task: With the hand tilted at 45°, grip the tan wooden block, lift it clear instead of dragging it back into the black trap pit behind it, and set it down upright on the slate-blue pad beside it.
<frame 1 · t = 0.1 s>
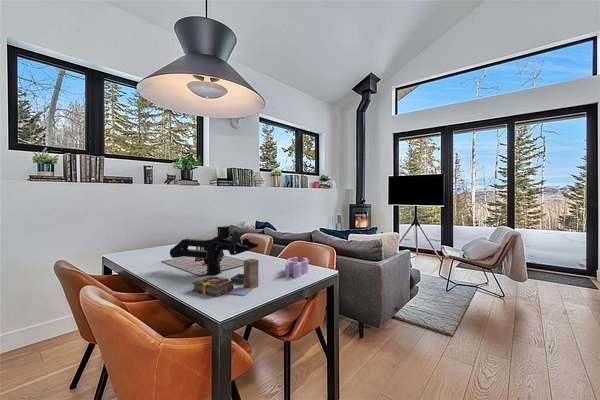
hand: (254, 247, 146), 17 cm above the table, tool horizontal, fingers open, 9 cm apart
tan wooden block: (251, 286, 131), on the table
decorative book: (214, 291, 126), on the table
clip: (296, 273, 156), on the table
trap pit: (241, 281, 140), on the table
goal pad: (240, 291, 124), on the table
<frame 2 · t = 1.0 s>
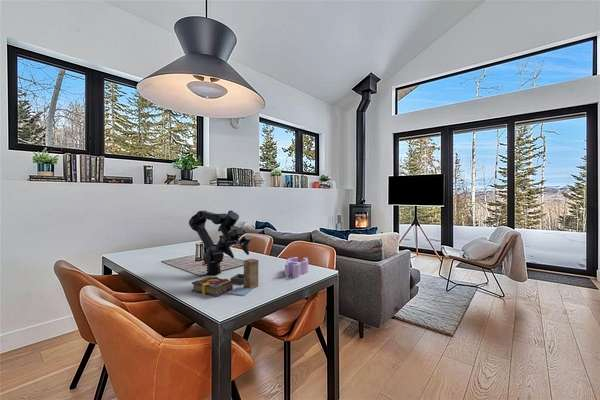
hand: (241, 256, 137), 14 cm above the table, tool tilted 45°, fingers open, 9 cm apart
nothing on the table moved.
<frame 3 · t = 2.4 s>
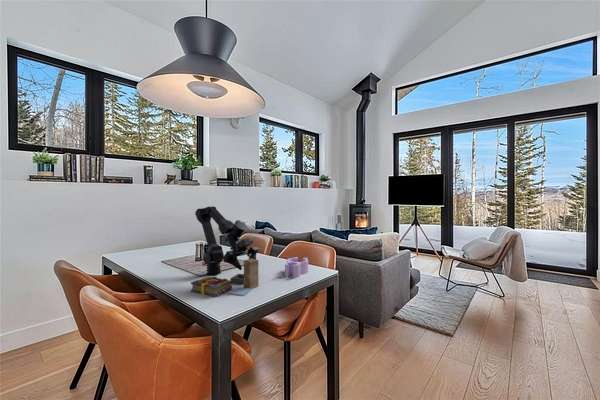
hand: (249, 267, 132), 9 cm above the table, tool tilted 45°, fingers open, 9 cm apart
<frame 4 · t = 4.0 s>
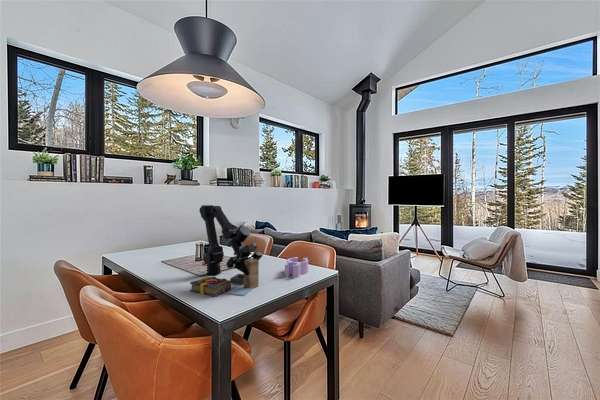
hand: (252, 273, 130), 7 cm above the table, tool tilted 45°, fingers closed on tan wooden block, 5 cm apart
tan wooden block: (251, 286, 131), on the table, touching gripper
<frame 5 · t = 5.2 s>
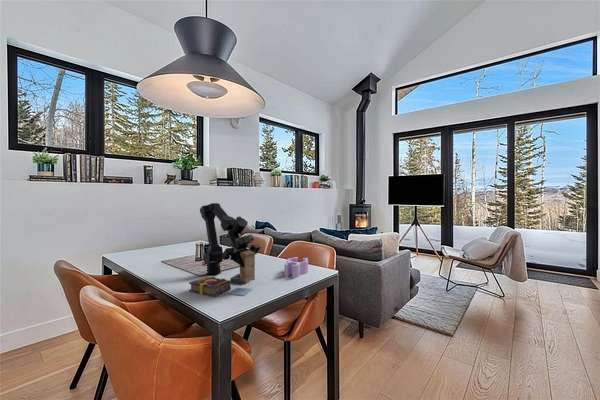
hand: (248, 266, 127), 11 cm above the table, tool tilted 45°, fingers closed on tan wooden block, 5 cm apart
tan wooden block: (247, 279, 128), point 4 cm above the table, touching gripper
when the fingers open (8 cm above the table, at t = 6.6 s): tan wooden block stays where it is, resting on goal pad.
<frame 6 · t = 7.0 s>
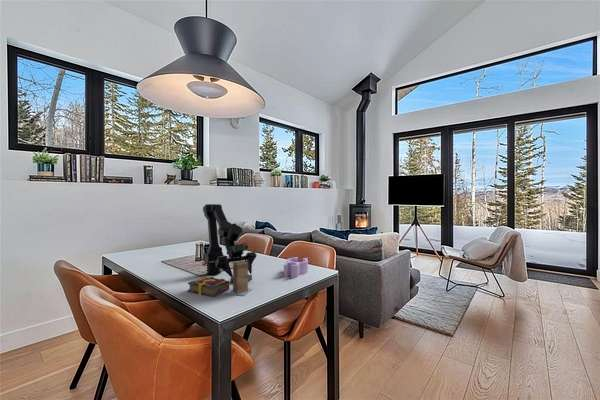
hand: (241, 275, 123), 8 cm above the table, tool tilted 45°, fingers open, 9 cm apart
tan wooden block: (240, 290, 124), resting on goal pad
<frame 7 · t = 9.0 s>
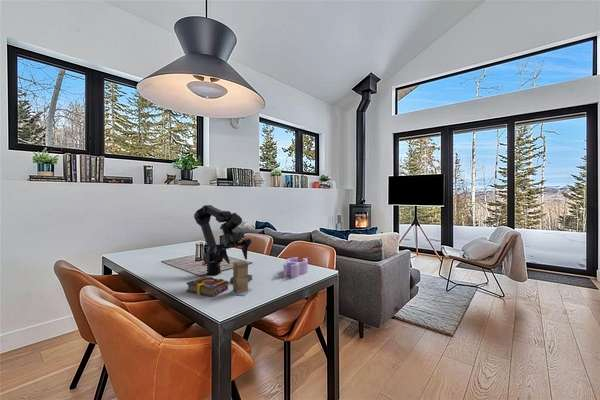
hand: (237, 261, 136), 11 cm above the table, tool tilted 30°, fingers open, 9 cm apart
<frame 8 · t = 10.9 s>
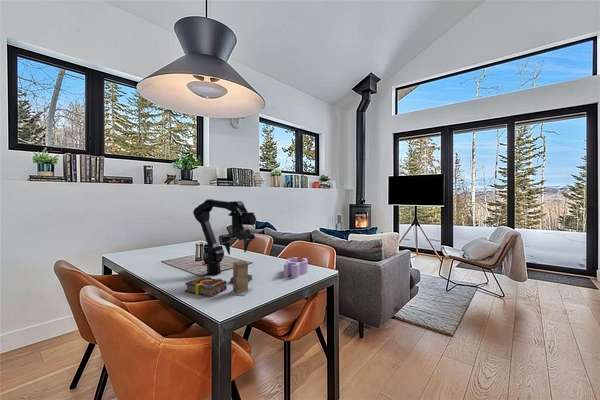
hand: (237, 253, 146), 13 cm above the table, tool pointing down, fingers open, 9 cm apart
at the end: tan wooden block inside the target area (0.1 cm from its centre), point 0.5 cm above the table; tan wooden block tilted 0°; the gripper is holding nothing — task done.
